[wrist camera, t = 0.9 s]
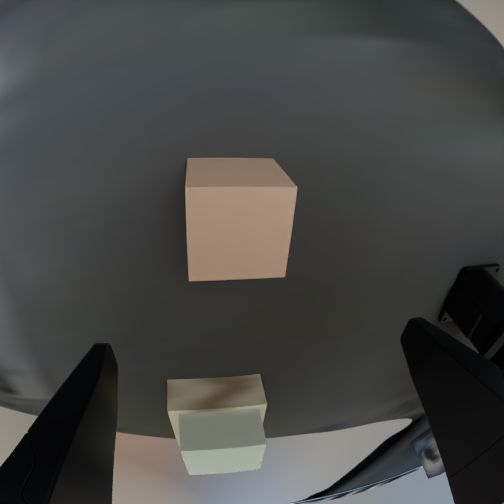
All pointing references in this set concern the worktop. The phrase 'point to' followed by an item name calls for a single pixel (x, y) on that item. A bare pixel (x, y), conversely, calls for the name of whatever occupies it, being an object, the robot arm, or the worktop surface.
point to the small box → (429, 454)
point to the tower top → (222, 441)
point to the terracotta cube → (238, 218)
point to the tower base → (214, 396)
